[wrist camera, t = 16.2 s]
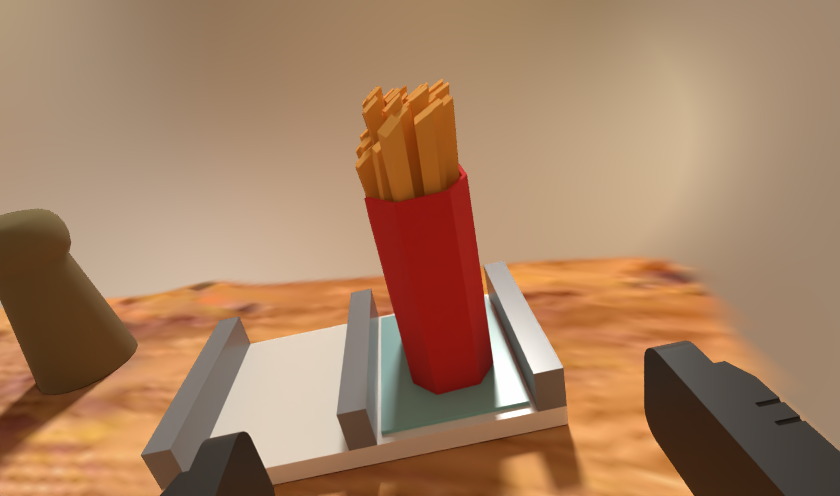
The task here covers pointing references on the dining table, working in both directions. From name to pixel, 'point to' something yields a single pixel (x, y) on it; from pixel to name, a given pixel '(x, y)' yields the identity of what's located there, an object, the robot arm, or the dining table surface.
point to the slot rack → (357, 393)
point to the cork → (56, 306)
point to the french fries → (425, 234)
